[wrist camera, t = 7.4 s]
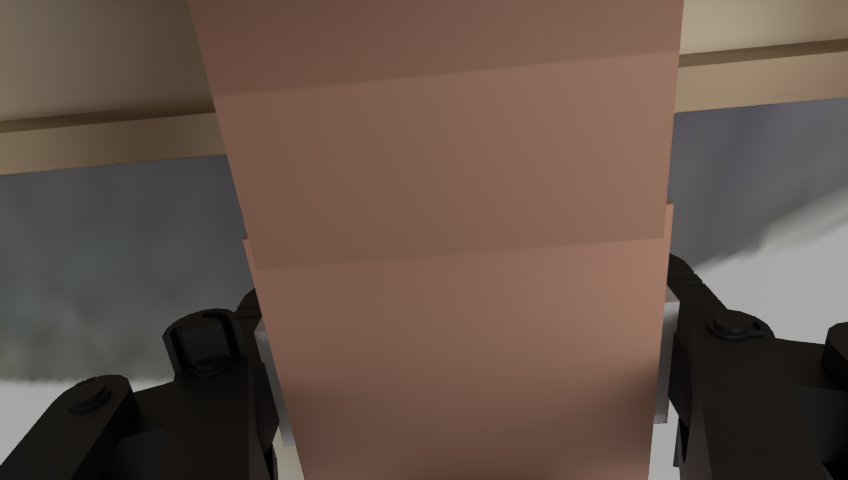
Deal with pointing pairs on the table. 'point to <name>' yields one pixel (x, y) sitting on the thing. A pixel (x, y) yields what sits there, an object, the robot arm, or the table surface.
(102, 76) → the wallboard
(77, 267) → the table surface
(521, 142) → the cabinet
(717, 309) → the robot arm
